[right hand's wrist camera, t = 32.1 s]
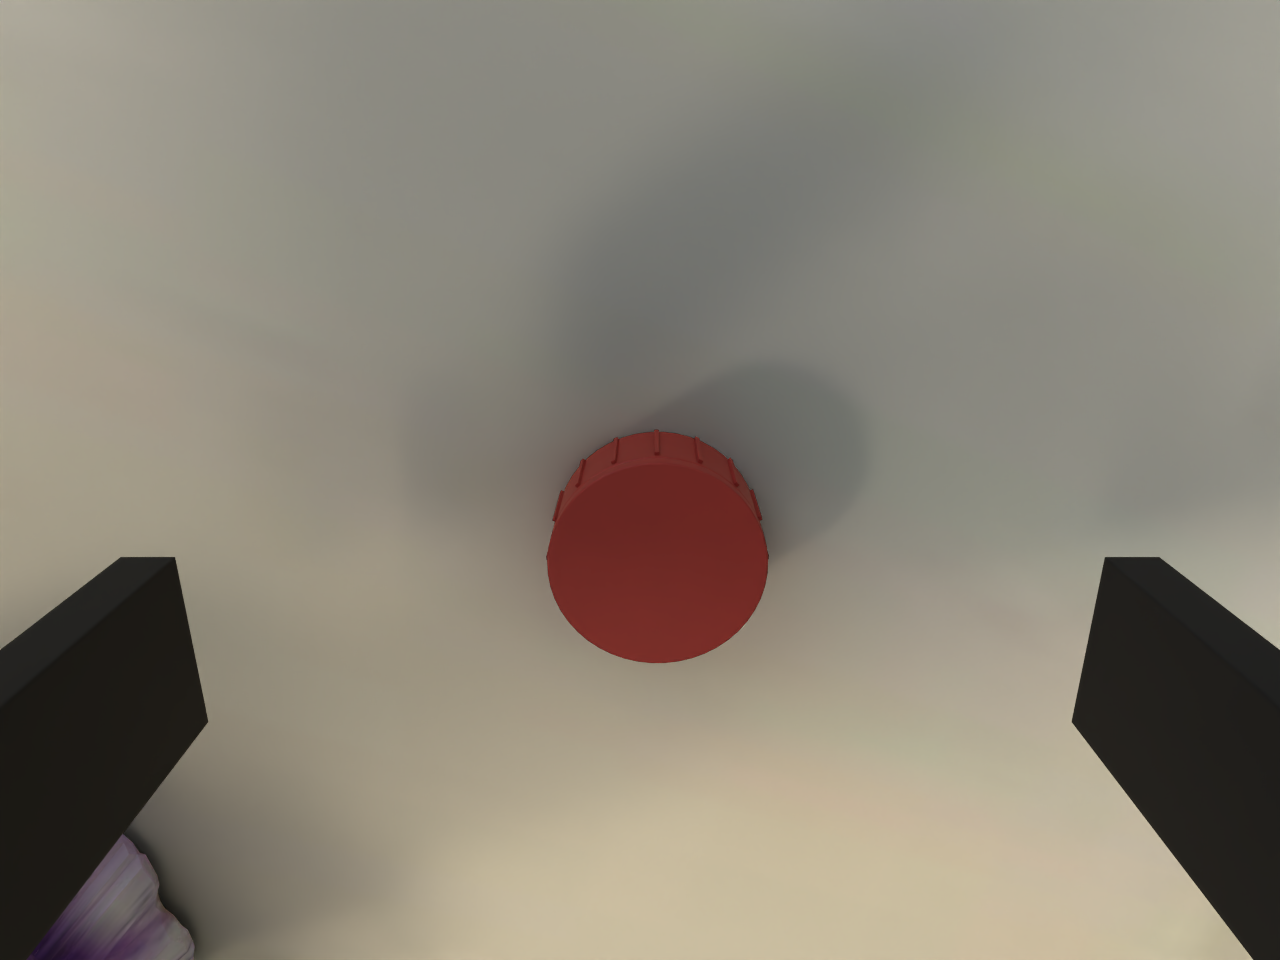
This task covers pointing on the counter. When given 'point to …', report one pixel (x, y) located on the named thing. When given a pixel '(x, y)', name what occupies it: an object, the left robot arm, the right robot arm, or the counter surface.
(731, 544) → the cap
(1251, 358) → the counter surface
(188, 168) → the counter surface
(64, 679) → the right robot arm
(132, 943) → the figurine
